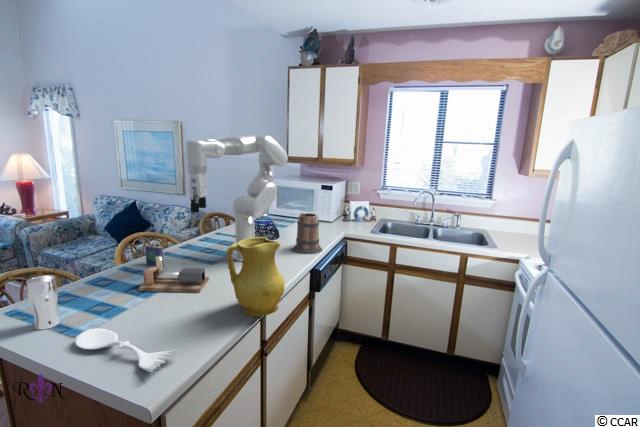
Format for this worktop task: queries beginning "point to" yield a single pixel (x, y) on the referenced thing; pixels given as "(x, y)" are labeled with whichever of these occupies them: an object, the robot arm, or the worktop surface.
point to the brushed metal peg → (163, 275)
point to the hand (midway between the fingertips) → (198, 209)
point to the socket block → (149, 276)
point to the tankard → (307, 234)
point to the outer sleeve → (192, 276)
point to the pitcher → (256, 276)
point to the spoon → (108, 338)
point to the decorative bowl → (273, 230)
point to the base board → (172, 286)
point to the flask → (153, 254)
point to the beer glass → (43, 301)
